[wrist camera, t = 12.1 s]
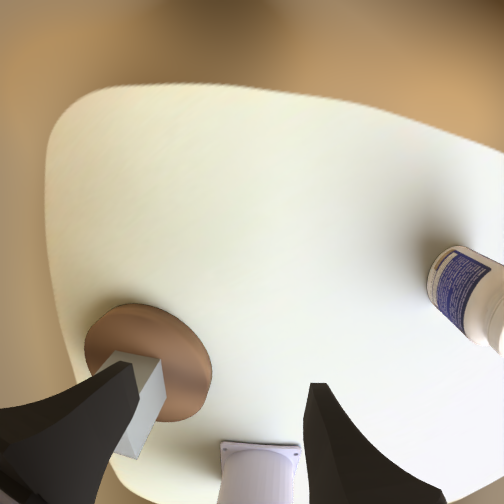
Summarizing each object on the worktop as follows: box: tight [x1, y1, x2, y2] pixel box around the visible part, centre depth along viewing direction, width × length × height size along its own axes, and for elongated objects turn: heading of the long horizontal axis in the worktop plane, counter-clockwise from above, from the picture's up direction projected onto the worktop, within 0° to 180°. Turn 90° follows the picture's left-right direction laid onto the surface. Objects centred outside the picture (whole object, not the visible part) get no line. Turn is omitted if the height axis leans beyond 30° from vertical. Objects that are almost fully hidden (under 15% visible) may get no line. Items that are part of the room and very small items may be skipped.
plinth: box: [84, 304, 212, 422], centre depth 22 cm, size 11×11×2 cm
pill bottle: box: [427, 246, 504, 358], centre depth 15 cm, size 5×5×9 cm
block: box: [94, 350, 167, 459], centre depth 18 cm, size 4×4×7 cm
